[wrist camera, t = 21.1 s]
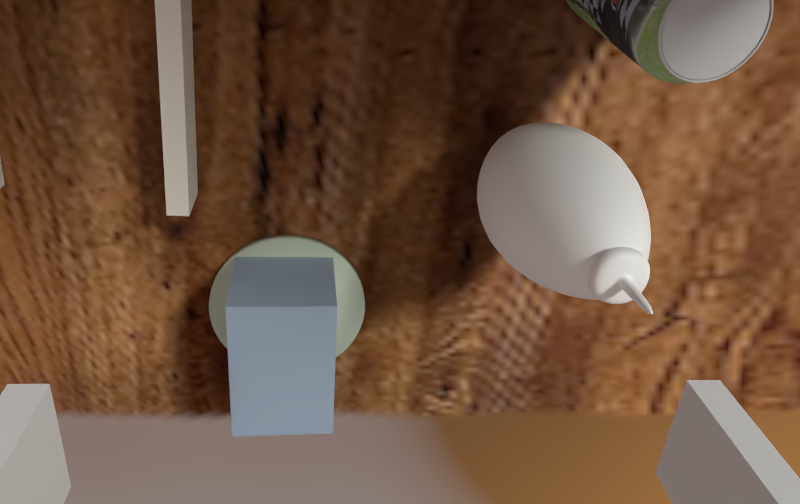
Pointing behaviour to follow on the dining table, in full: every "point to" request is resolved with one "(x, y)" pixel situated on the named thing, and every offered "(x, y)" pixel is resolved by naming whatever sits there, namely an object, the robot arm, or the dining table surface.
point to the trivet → (296, 246)
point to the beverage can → (681, 33)
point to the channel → (175, 104)
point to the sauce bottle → (566, 213)
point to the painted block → (281, 345)
